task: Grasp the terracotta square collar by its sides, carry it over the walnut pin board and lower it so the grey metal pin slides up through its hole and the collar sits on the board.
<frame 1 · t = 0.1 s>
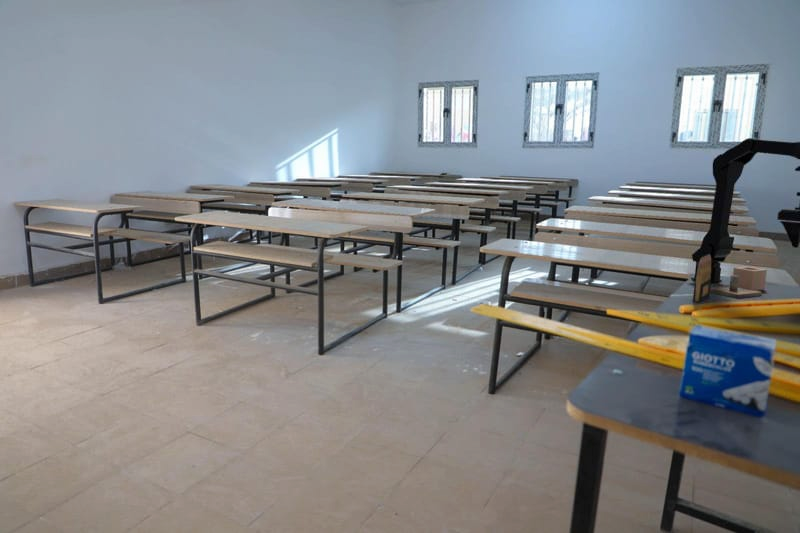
collar: (747, 288, 164), on the table
pin board: (732, 293, 157), on the table
ammunition clip: (701, 299, 149), on the table
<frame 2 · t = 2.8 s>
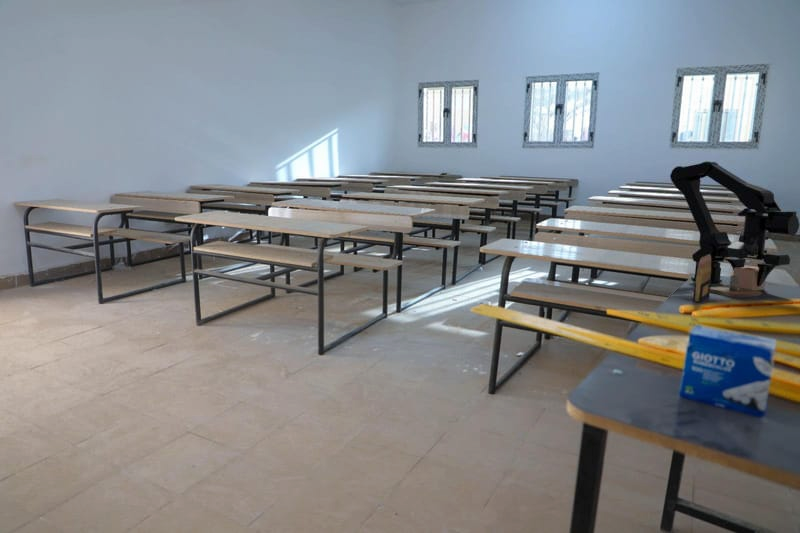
hand: (748, 284, 164), 1 cm above the table, fingers closed on collar, 6 cm apart
collar: (747, 288, 164), on the table, touching gripper
everything else where it was.
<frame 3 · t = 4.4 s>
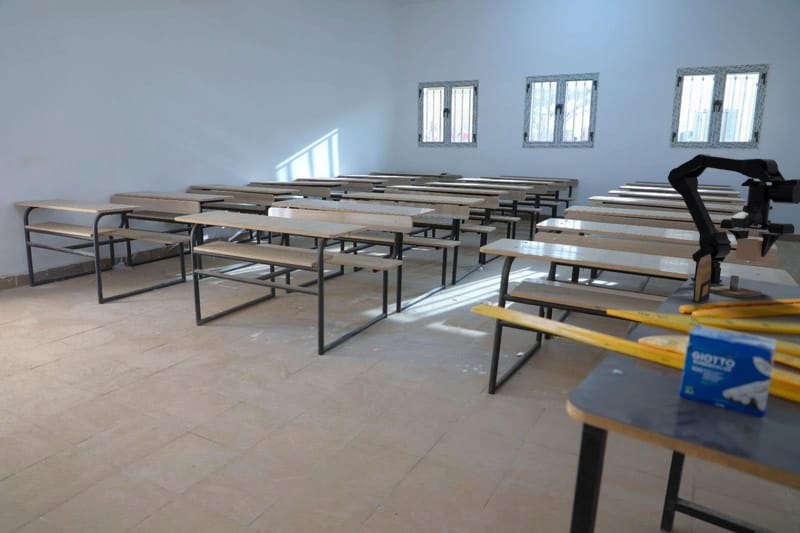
hand: (752, 255, 162), 10 cm above the table, fingers closed on collar, 6 cm apart
collar: (751, 259, 163), point 9 cm above the table, touching gripper
everything else where it was.
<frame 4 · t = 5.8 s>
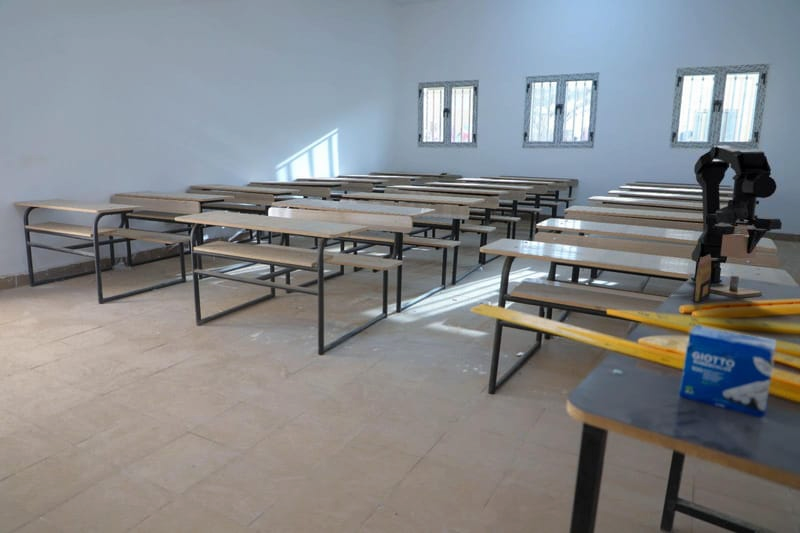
hand: (738, 251, 155), 12 cm above the table, fingers closed on collar, 6 cm apart
collar: (737, 256, 155), point 11 cm above the table, touching gripper
everything else where it was.
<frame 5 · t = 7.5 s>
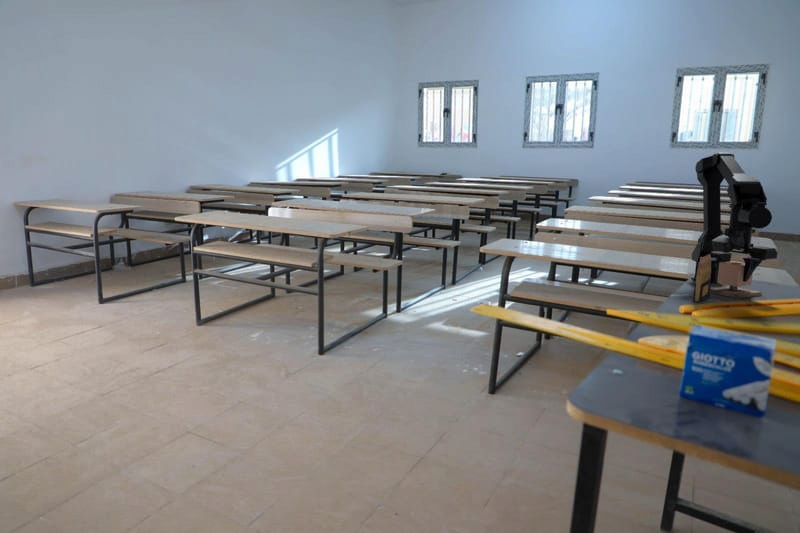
hand: (734, 279, 157), 4 cm above the table, fingers closed on collar, 6 cm apart
collar: (733, 283, 157), point 3 cm above the table, touching gripper
everything else where it was.
when the fingers open (3 cm above the table, at t = 8.7 s): collar stays where it is, resting on pin board.
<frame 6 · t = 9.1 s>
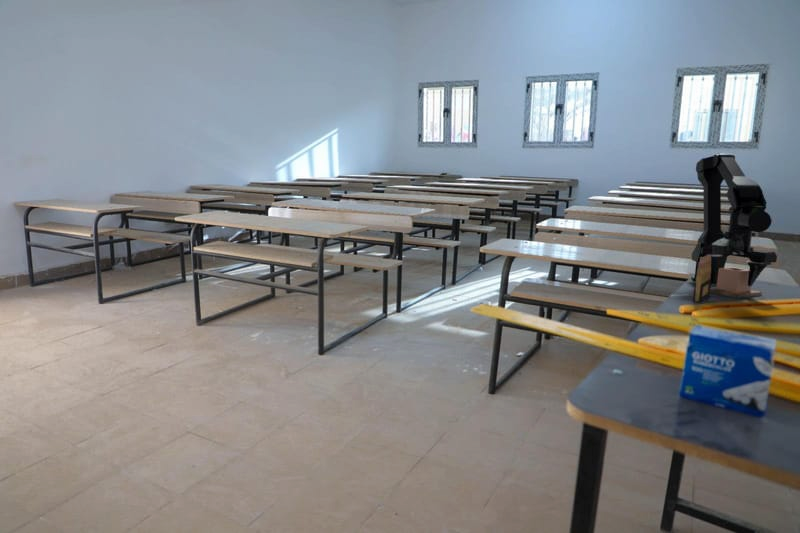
hand: (734, 282, 157), 3 cm above the table, fingers open, 9 cm apart
collar: (733, 289, 157), point 1 cm above the table, touching pin board
everything else where it was.
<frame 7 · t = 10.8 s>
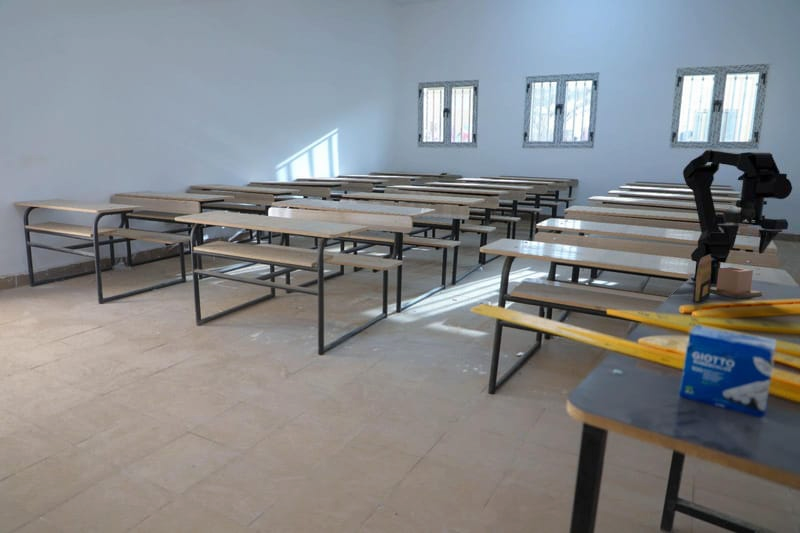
hand: (745, 251, 159), 12 cm above the table, fingers open, 9 cm apart
nothing on the table moved.
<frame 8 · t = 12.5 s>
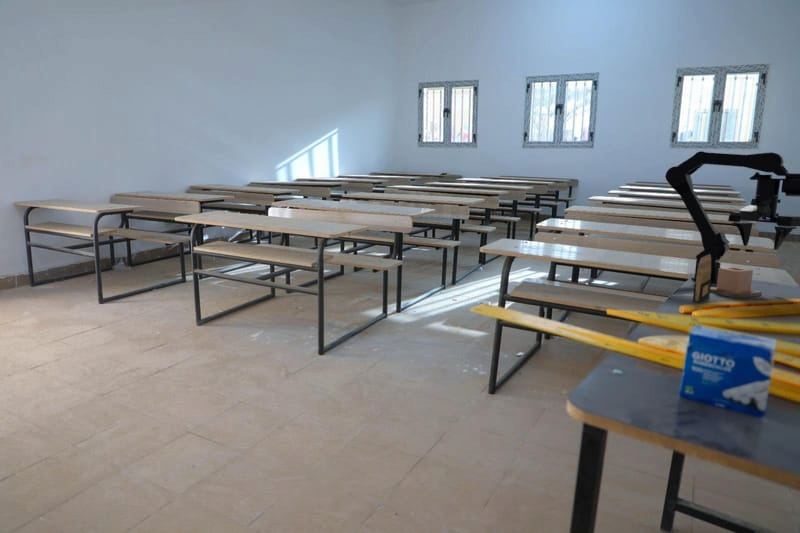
hand: (760, 247, 165), 12 cm above the table, fingers open, 9 cm apart
nothing on the table moved.
at the end: collar 0.1 cm off-centre on the pin board, point 1.0 cm above the pin board's base; collar tilted 0°; the gripper is holding nothing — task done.
